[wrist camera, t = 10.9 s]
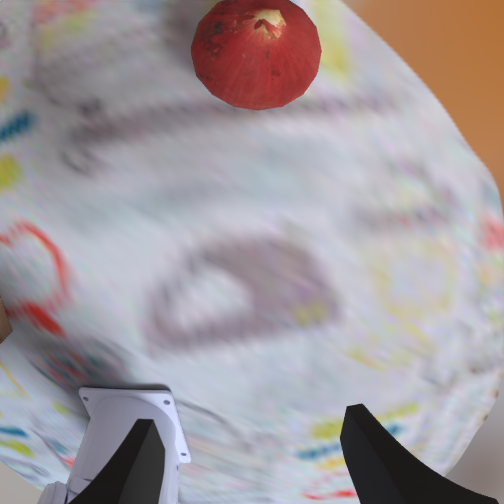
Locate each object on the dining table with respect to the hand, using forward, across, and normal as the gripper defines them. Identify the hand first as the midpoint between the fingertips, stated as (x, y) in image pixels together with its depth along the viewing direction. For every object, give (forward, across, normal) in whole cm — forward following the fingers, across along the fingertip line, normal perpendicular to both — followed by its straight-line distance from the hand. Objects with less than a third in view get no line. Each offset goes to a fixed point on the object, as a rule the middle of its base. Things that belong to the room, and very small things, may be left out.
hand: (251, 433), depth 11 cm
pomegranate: (+11, -1, -14) cm, 18 cm away
